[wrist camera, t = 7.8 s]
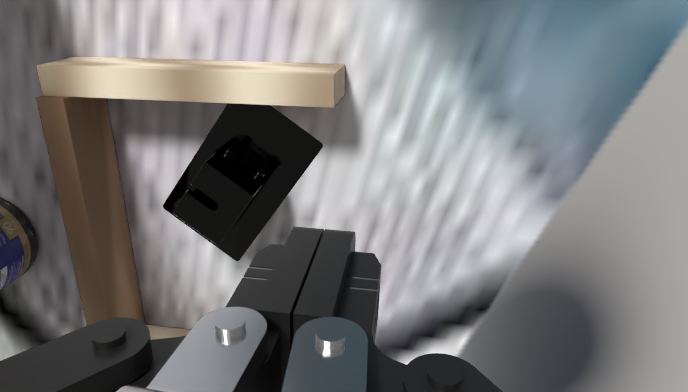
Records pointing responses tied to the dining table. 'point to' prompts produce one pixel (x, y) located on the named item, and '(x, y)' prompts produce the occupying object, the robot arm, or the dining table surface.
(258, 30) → the dining table surface
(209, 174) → the black angular block
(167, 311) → the dining table surface
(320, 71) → the frame
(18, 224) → the pill bottle
